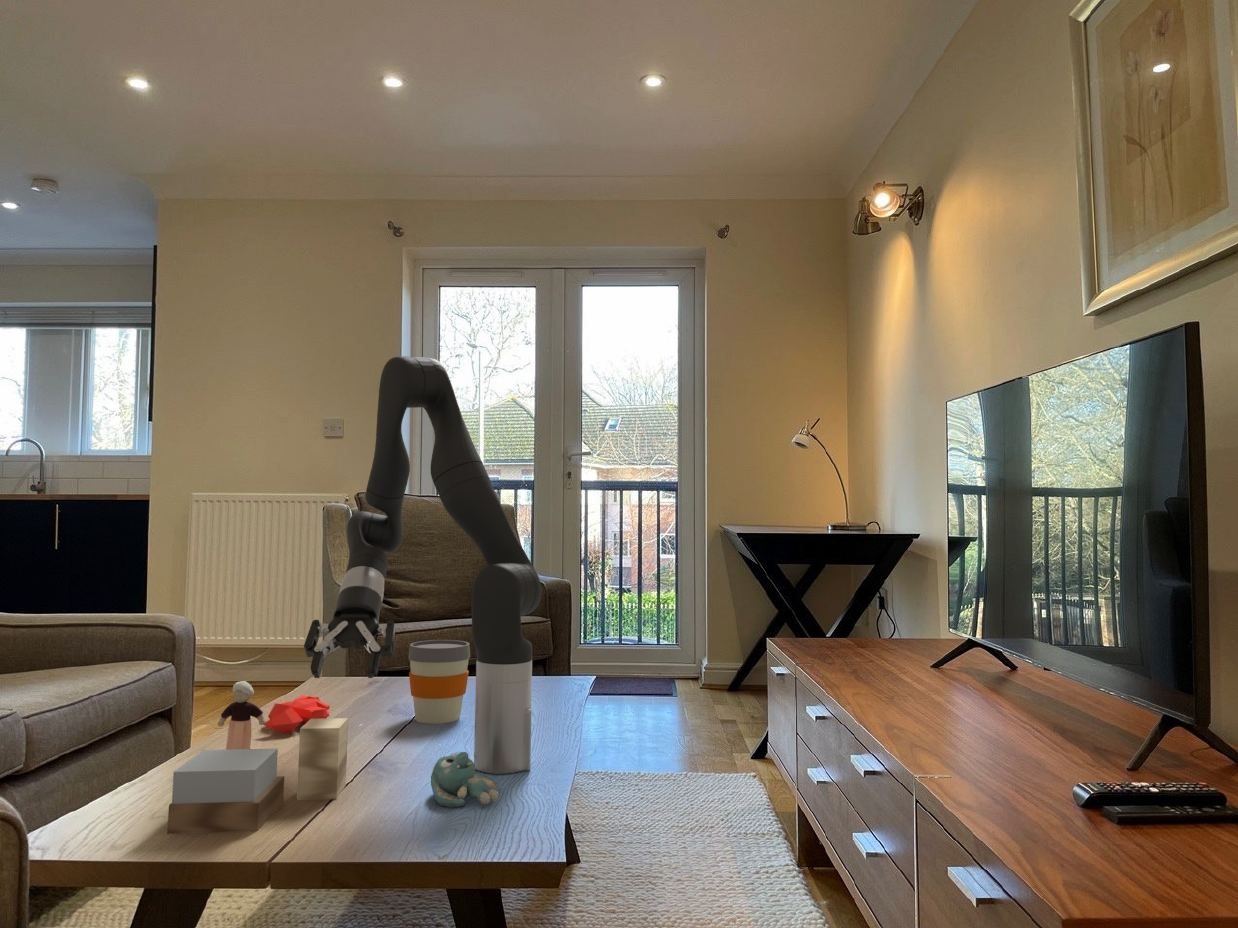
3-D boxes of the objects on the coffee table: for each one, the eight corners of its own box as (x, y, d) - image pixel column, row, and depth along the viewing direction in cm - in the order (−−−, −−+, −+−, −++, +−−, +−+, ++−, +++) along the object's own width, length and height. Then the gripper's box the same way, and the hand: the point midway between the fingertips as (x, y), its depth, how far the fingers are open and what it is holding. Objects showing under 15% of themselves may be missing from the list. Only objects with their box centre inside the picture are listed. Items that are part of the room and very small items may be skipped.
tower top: (276, 777, 114) (277, 748, 114) (253, 801, 104) (255, 769, 104) (202, 779, 112) (203, 749, 113) (171, 803, 102) (173, 771, 103)
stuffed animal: (468, 779, 108) (414, 746, 116) (459, 830, 109) (407, 794, 116) (523, 762, 117) (470, 732, 124) (516, 809, 117) (463, 777, 124)
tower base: (283, 804, 114) (284, 776, 114) (257, 834, 103) (258, 802, 103) (201, 806, 113) (203, 777, 113) (167, 837, 102) (168, 804, 102)
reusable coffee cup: (454, 727, 157) (456, 649, 158) (394, 723, 159) (397, 647, 160) (477, 713, 169) (479, 641, 170) (422, 709, 171) (424, 638, 172)
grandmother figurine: (212, 762, 132) (216, 684, 133) (217, 755, 136) (220, 679, 136) (262, 759, 134) (266, 682, 135) (266, 752, 138) (269, 678, 139)
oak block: (345, 785, 121) (348, 718, 122) (336, 798, 115) (339, 727, 116) (308, 786, 121) (310, 718, 121) (296, 799, 115) (300, 728, 115)
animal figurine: (252, 739, 147) (254, 711, 147) (276, 719, 161) (277, 694, 162) (318, 738, 148) (319, 710, 149) (335, 718, 163) (336, 693, 163)
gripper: (316, 583, 140) (294, 661, 127) (399, 584, 141) (385, 661, 129) (322, 611, 144) (301, 688, 132) (402, 611, 146) (390, 688, 134)
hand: (343, 675), depth 131 cm, fingers open, 8 cm apart
